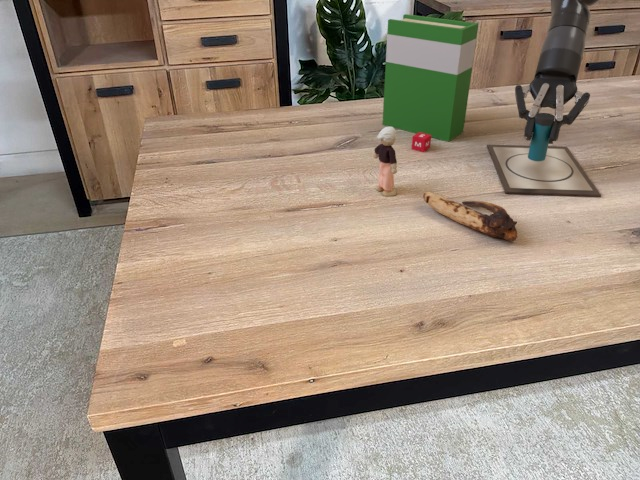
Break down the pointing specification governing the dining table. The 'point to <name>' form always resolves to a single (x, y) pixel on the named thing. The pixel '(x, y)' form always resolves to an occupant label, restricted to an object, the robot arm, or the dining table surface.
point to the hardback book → (428, 75)
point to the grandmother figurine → (386, 161)
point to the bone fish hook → (475, 216)
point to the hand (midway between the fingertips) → (539, 140)
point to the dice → (421, 142)
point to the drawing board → (541, 172)
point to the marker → (540, 136)
